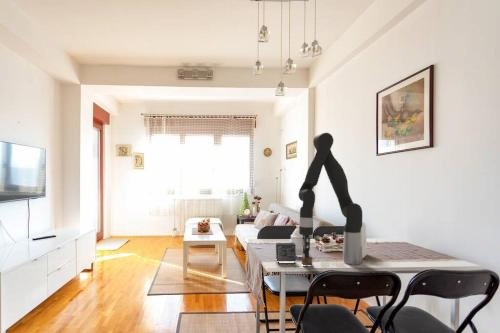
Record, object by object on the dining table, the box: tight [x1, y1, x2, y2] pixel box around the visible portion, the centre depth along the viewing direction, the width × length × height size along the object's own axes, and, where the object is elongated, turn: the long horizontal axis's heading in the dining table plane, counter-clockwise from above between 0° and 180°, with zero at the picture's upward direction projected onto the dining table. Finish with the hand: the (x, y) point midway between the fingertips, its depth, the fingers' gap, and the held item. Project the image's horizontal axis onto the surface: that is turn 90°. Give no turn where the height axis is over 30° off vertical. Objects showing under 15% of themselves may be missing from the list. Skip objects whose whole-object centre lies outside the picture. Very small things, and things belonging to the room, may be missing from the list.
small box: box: [275, 242, 297, 261], centre depth 202 cm, size 11×6×10 cm, turn 92°
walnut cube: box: [301, 254, 313, 266], centre depth 194 cm, size 5×5×5 cm
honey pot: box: [289, 225, 308, 255], centre depth 219 cm, size 13×13×18 cm
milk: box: [342, 220, 368, 259], centre depth 217 cm, size 12×12×26 cm
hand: (305, 255), depth 194 cm, fingers open, 8 cm apart
